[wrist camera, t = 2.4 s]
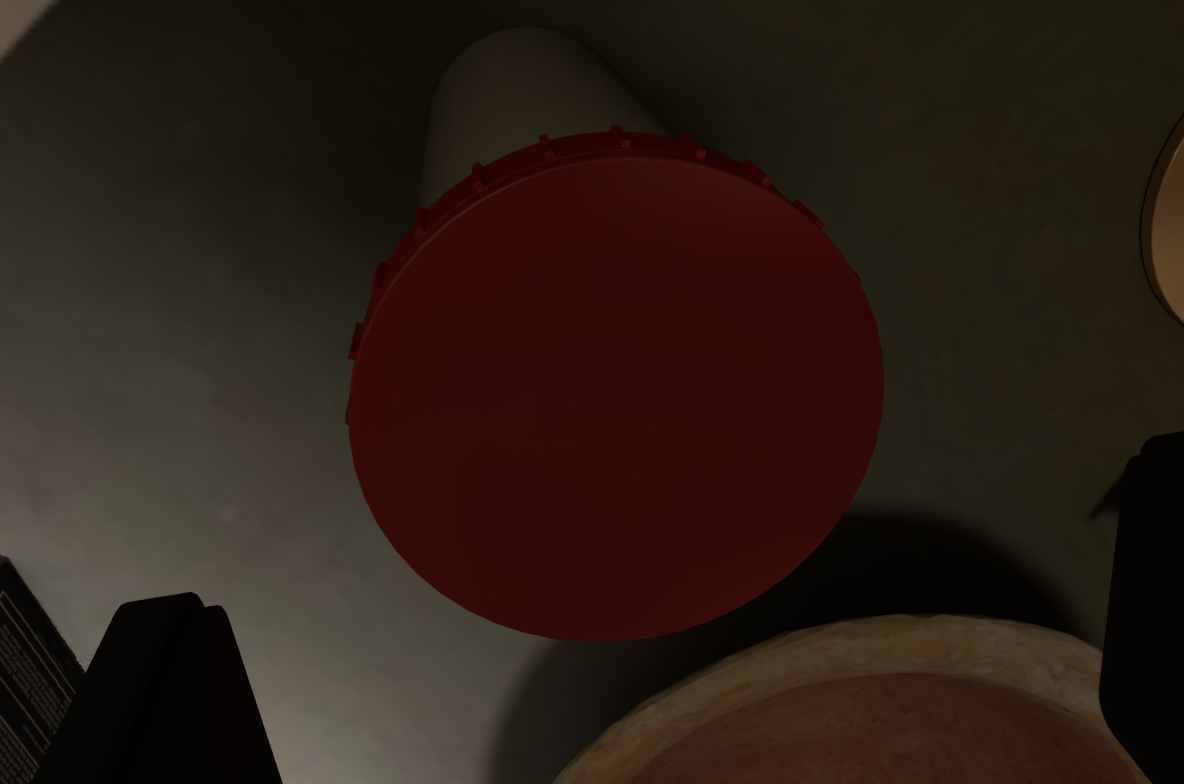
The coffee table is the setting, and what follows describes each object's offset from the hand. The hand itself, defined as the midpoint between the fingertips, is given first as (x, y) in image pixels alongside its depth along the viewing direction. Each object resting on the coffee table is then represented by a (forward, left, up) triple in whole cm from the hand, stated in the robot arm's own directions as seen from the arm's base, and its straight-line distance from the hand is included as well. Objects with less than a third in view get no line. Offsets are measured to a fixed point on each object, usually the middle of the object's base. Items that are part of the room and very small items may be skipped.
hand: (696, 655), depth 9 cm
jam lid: (0, 0, -4) cm, 4 cm away
